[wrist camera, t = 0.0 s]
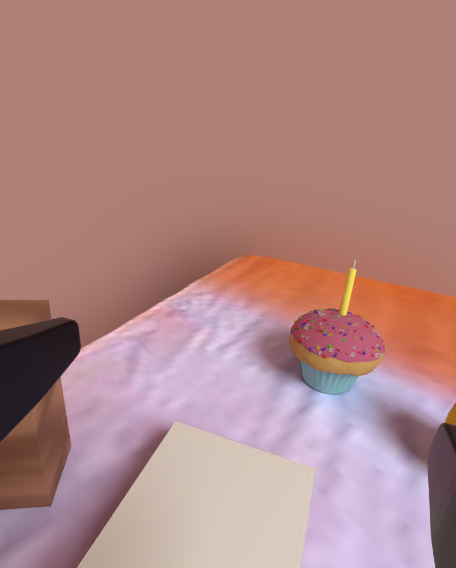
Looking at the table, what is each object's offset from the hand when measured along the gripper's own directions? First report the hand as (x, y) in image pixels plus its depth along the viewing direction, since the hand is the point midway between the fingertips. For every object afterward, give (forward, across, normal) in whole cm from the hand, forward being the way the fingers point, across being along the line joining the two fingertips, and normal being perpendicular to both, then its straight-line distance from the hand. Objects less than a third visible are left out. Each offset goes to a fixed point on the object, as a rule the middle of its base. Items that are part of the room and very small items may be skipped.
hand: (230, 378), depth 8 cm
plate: (+5, +2, +16) cm, 17 cm away
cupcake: (+24, -3, +17) cm, 29 cm away
